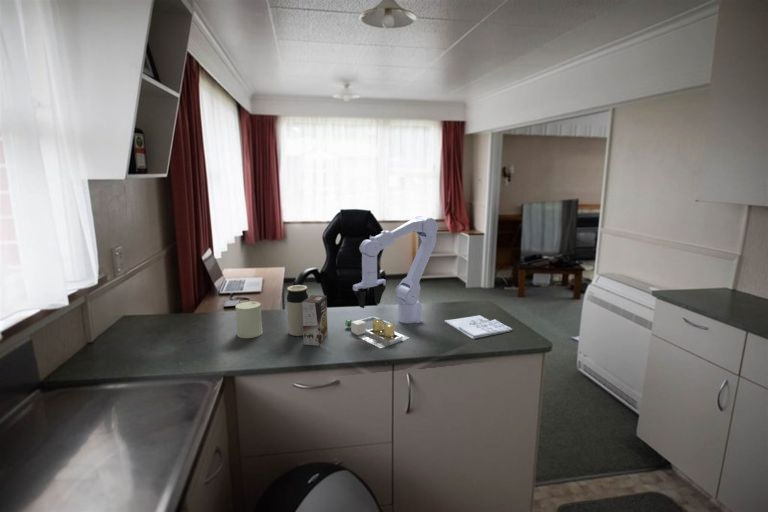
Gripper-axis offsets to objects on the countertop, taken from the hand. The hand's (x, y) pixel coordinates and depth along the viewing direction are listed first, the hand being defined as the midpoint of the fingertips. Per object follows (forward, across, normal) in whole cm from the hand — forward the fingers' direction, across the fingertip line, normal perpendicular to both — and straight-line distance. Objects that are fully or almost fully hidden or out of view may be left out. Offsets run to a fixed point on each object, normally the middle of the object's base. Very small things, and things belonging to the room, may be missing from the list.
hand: (369, 305), depth 161 cm
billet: (+9, +3, +9) cm, 13 cm away
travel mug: (+10, +23, -15) cm, 29 cm away
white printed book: (+11, -35, +25) cm, 44 cm away
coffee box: (+10, +22, -4) cm, 25 cm away
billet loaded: (+9, +3, +15) cm, 18 cm away
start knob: (+8, +7, -1) cm, 11 cm away
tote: (+10, -2, -2) cm, 10 cm away
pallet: (+10, +3, +12) cm, 16 cm away
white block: (+10, +7, +2) cm, 12 cm away
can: (+10, +38, -26) cm, 47 cm away
